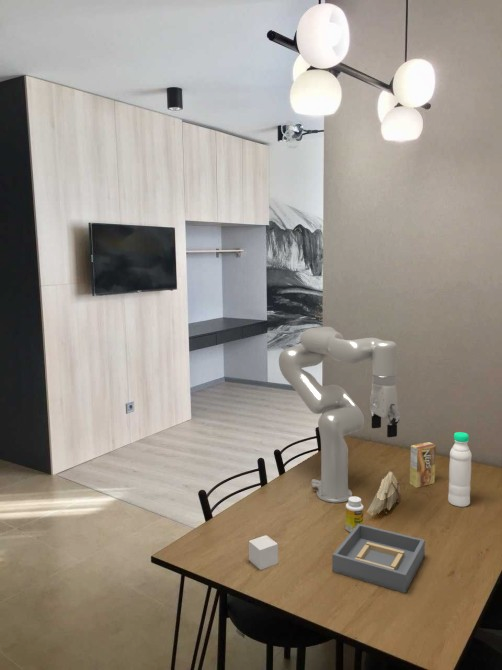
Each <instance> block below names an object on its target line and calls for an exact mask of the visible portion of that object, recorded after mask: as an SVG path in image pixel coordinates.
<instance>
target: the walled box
mask: <svg viewBox="0 0 502 670" xmlns="http://www.w3.org/2000/svg"><path fill="white" fill-rule="evenodd" d="M425 547H426V540H425V539H422V538H420V537H416V536H412V535H406V534H402V533H400V532H395V531H391V530H385V529H381V528H378V527H374V526H369V525H367V524H363V525H362V524H357V525H356V527H355V528H354V529H353V530H352V531H351V532H349V534H348V535H347V537H345V539H344V540H343V541H342V543H340V544H339V546H338V547H337V548H336V549H335V551H334V552H333V553H332V556H331V557H332V563H331V564H332V567H331V568H332V572H333V573H336V574H339V575H343V576H347V577H350V578H353V579H357V580H360V581H362V582H363V581H364V582H366V583H370V584H373V585H376V586H379V587H383V588H387V589H390V590H393V591H397V592H400V593H403V594H406V592H407V591H408V589H409V587H410V585H411V583H412V581H413V579H414V577H415V575H416V573H417V572H418V569H419V568H420V565H421V564H422V562H423V560H424V558H425V556H426V555H425V553H426V552H425V550H426V549H425Z"/></svg>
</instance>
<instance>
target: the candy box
mask: <svg viewBox="0 0 502 670" xmlns="http://www.w3.org/2000/svg"><path fill="white" fill-rule="evenodd" d="M436 451H437V445H436V444H435V443H432V442H429V441H428V442H421V443H417V444H413V445H410V457H409V458H410V464H409V465H410V466H409V484H410V485H411V486H412V487H414V488H420V487H425V486H429V485H433V484H435V479H436V477H435V475H436V474H435V473H436V456H437V455H436V453H437V452H436Z"/></svg>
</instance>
